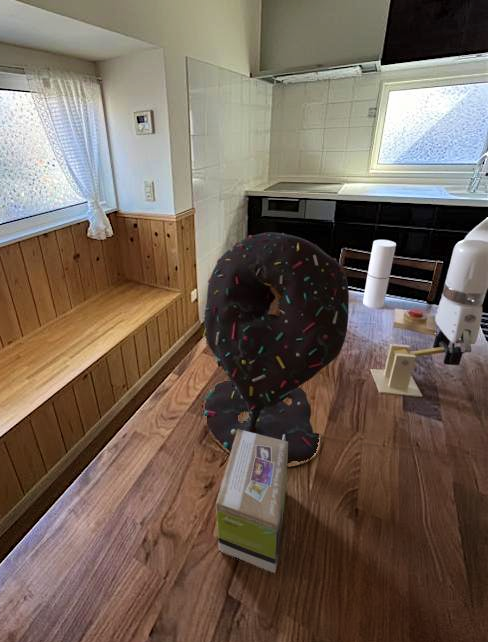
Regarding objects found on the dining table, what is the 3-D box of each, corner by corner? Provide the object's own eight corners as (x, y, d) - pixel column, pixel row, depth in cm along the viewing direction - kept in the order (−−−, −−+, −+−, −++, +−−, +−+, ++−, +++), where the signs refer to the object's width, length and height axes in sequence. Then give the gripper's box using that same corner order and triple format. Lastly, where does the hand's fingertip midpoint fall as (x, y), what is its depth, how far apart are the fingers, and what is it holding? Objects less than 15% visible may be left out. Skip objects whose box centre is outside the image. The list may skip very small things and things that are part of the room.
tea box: (237, 475, 71) (237, 425, 65) (286, 491, 68) (291, 439, 62) (217, 554, 59) (214, 501, 52) (276, 578, 55) (280, 525, 49)
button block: (433, 320, 117) (436, 311, 116) (435, 336, 110) (438, 325, 108) (393, 313, 123) (395, 303, 121) (392, 327, 115) (395, 317, 114)
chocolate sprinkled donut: (325, 491, 67) (357, 293, 49) (179, 439, 80) (162, 267, 62) (334, 389, 92) (358, 231, 73) (221, 362, 105) (217, 222, 86)
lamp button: (421, 313, 115) (422, 309, 115) (422, 318, 113) (423, 314, 112) (409, 311, 117) (410, 307, 116) (409, 316, 114) (410, 312, 114)
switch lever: (445, 346, 86) (444, 338, 86) (455, 359, 82) (454, 351, 81) (393, 354, 90) (391, 347, 90) (399, 366, 86) (398, 359, 85)
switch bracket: (408, 375, 94) (417, 341, 89) (421, 399, 86) (432, 363, 82) (369, 372, 97) (376, 338, 92) (378, 395, 89) (387, 359, 84)
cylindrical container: (365, 307, 128) (376, 246, 117) (360, 298, 134) (371, 239, 124) (385, 309, 126) (398, 246, 116) (380, 299, 132) (392, 239, 122)
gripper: (505, 313, 69) (481, 381, 76) (463, 277, 84) (446, 337, 92) (463, 312, 71) (444, 379, 78) (429, 276, 86) (415, 335, 93)
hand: (445, 355), depth 85 cm, fingers closed on switch lever, 5 cm apart
